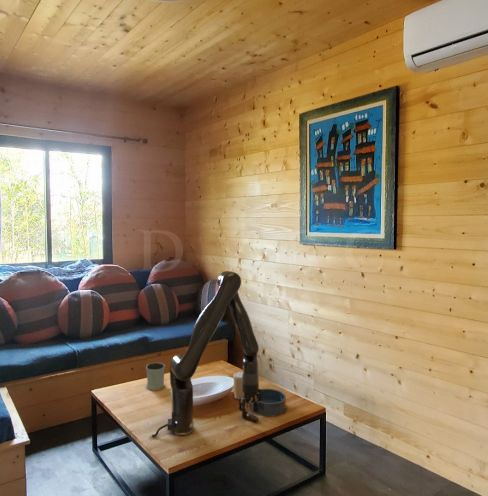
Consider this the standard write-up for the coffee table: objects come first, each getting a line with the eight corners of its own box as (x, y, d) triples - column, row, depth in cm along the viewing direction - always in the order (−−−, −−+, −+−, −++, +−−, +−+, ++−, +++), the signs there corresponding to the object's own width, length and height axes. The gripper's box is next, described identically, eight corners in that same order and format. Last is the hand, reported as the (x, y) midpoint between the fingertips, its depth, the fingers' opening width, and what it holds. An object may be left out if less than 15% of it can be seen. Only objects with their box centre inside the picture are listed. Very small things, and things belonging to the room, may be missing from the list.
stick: (240, 416, 198) (241, 411, 198) (243, 416, 200) (244, 411, 200) (256, 423, 192) (257, 417, 193) (259, 422, 194) (260, 417, 194)
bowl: (254, 416, 199) (254, 404, 198) (248, 400, 215) (248, 389, 215) (289, 415, 201) (289, 402, 200) (280, 399, 217) (281, 388, 217)
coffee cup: (251, 393, 224) (251, 371, 223) (250, 401, 215) (251, 378, 213) (233, 392, 225) (234, 370, 224) (232, 400, 215) (232, 377, 214)
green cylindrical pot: (159, 381, 238) (158, 361, 236) (168, 387, 230) (168, 366, 229) (142, 386, 231) (142, 365, 230) (152, 392, 223) (152, 370, 222)
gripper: (252, 374, 202) (252, 406, 204) (234, 384, 191) (234, 418, 193) (265, 378, 198) (265, 411, 199) (248, 388, 186) (248, 423, 188)
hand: (250, 414), depth 196 cm, fingers open, 8 cm apart
